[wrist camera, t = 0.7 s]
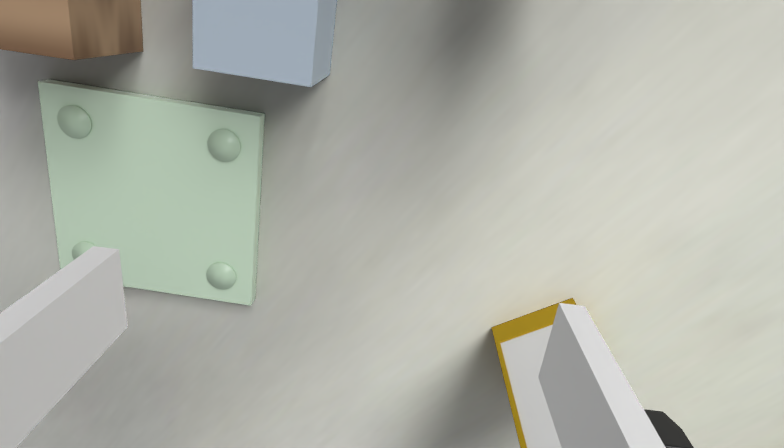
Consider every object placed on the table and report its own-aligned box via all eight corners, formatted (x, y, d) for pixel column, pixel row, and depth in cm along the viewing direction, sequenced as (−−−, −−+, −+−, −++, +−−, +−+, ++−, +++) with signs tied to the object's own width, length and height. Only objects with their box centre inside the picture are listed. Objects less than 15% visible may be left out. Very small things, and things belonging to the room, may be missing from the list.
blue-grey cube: (235, -51, 33) (192, -68, 27) (340, -34, 33) (322, -46, 27) (233, 59, 36) (192, 68, 29) (329, 74, 36) (311, 87, 30)
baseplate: (48, 79, 37) (35, 81, 36) (264, 113, 37) (259, 117, 36) (70, 269, 43) (59, 278, 42) (255, 298, 43) (250, 307, 42)
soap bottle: (550, 243, 40) (710, 512, 18) (598, 362, 44) (774, 697, 22) (467, 276, 42) (523, 561, 20) (520, 388, 46) (615, 726, 24)
